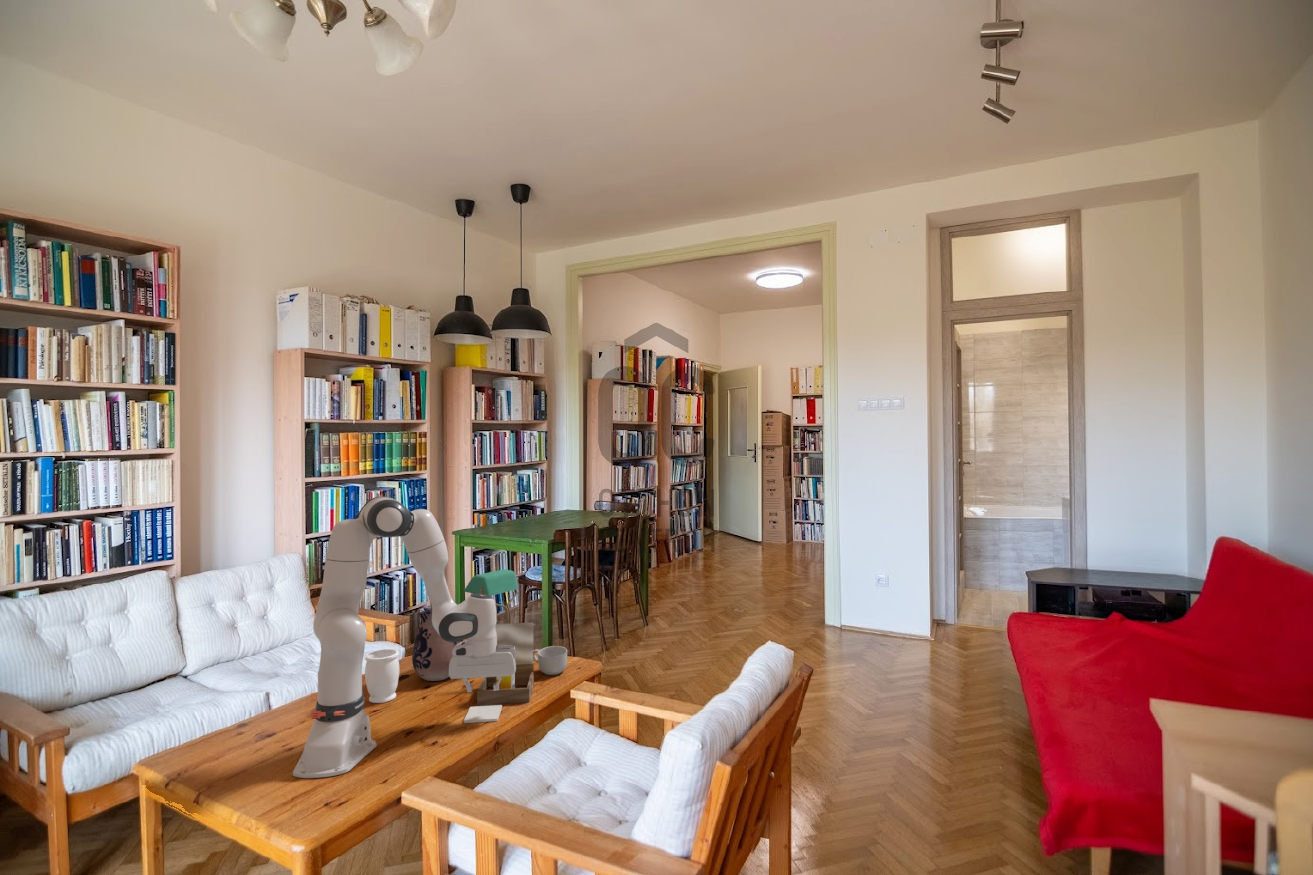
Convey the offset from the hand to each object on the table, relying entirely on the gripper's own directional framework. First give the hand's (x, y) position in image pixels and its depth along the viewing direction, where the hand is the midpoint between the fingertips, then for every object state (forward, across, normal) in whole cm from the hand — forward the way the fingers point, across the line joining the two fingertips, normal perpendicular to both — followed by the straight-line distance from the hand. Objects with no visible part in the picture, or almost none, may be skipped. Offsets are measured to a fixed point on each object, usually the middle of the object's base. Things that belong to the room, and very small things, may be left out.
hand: (483, 690), depth 196 cm
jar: (+8, +36, -18) cm, 41 cm away
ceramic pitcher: (+8, +21, -37) cm, 43 cm away
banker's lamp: (+8, +3, -46) cm, 47 cm away
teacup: (+8, -18, -35) cm, 40 cm away
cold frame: (+8, -5, -18) cm, 20 cm away
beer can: (+8, -5, -15) cm, 18 cm away
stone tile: (+8, 0, 0) cm, 8 cm away
